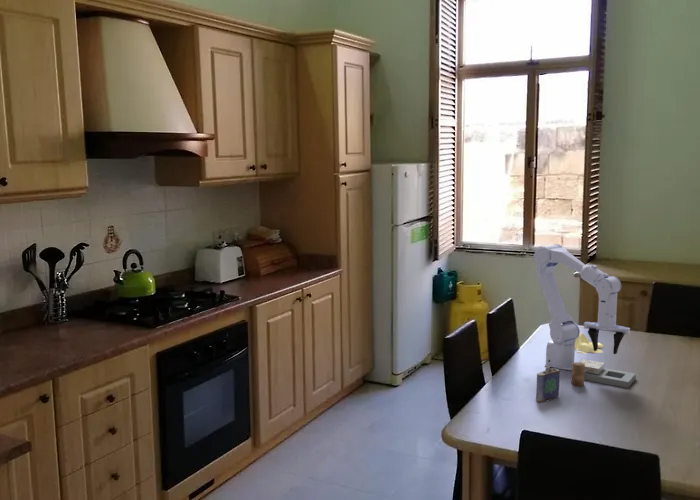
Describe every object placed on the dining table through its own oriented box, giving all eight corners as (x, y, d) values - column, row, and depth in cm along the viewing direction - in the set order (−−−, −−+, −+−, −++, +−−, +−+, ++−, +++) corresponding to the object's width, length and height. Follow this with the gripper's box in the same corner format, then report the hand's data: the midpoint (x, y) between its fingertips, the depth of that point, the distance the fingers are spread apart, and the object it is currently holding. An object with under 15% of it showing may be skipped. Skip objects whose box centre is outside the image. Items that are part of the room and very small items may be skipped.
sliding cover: (575, 370, 230) (576, 364, 230) (582, 364, 236) (582, 359, 236) (598, 374, 226) (598, 368, 226) (604, 368, 232) (604, 362, 232)
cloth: (546, 350, 262) (547, 335, 261) (561, 339, 277) (562, 324, 276) (605, 360, 249) (606, 344, 248) (618, 348, 264) (619, 333, 263)
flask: (539, 403, 208) (541, 370, 206) (532, 400, 210) (534, 367, 208) (560, 397, 212) (562, 364, 211) (553, 394, 215) (555, 362, 213)
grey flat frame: (572, 377, 230) (573, 371, 230) (581, 369, 238) (582, 364, 238) (628, 387, 220) (628, 382, 219) (635, 379, 228) (635, 373, 227)
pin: (569, 385, 223) (570, 364, 222) (573, 381, 226) (574, 361, 225) (581, 387, 220) (582, 367, 219) (585, 384, 224) (586, 363, 223)
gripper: (581, 312, 226) (580, 351, 228) (627, 318, 218) (624, 358, 220) (588, 307, 232) (586, 345, 234) (632, 313, 224) (630, 353, 226)
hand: (605, 351), depth 227 cm, fingers open, 6 cm apart
